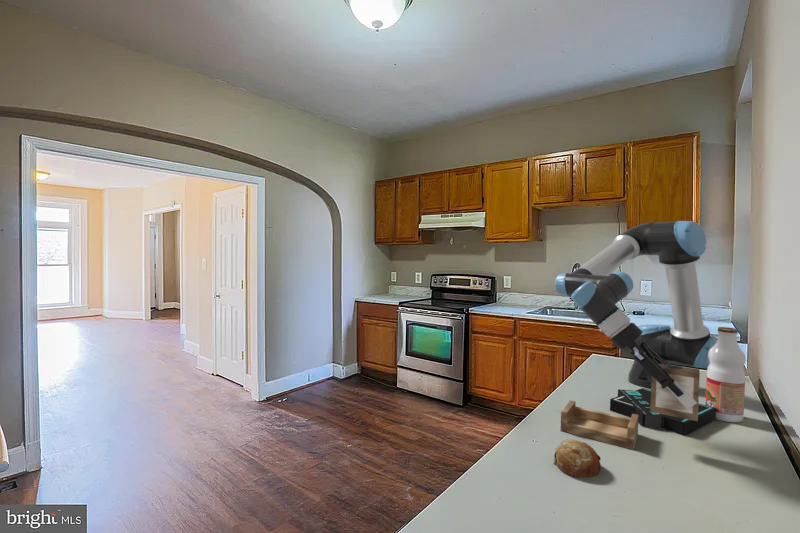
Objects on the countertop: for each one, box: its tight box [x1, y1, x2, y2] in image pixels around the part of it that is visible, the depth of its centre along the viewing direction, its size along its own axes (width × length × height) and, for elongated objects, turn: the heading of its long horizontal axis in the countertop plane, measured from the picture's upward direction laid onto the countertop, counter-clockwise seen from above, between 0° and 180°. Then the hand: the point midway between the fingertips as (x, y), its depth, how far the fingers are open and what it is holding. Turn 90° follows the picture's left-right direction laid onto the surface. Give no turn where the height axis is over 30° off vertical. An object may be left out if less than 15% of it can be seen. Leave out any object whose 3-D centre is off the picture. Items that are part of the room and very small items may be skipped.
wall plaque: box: [609, 387, 717, 437], centre depth 128 cm, size 30×4×30 cm
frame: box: [650, 363, 701, 421], centre depth 105 cm, size 10×5×12 cm, turn 55°
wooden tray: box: [560, 400, 639, 450], centre depth 114 cm, size 18×11×6 cm, turn 55°
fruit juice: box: [704, 326, 746, 424], centre depth 126 cm, size 9×9×28 cm
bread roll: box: [552, 438, 602, 478], centre depth 95 cm, size 10×10×8 cm
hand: (691, 402), depth 102 cm, fingers closed on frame, 5 cm apart
